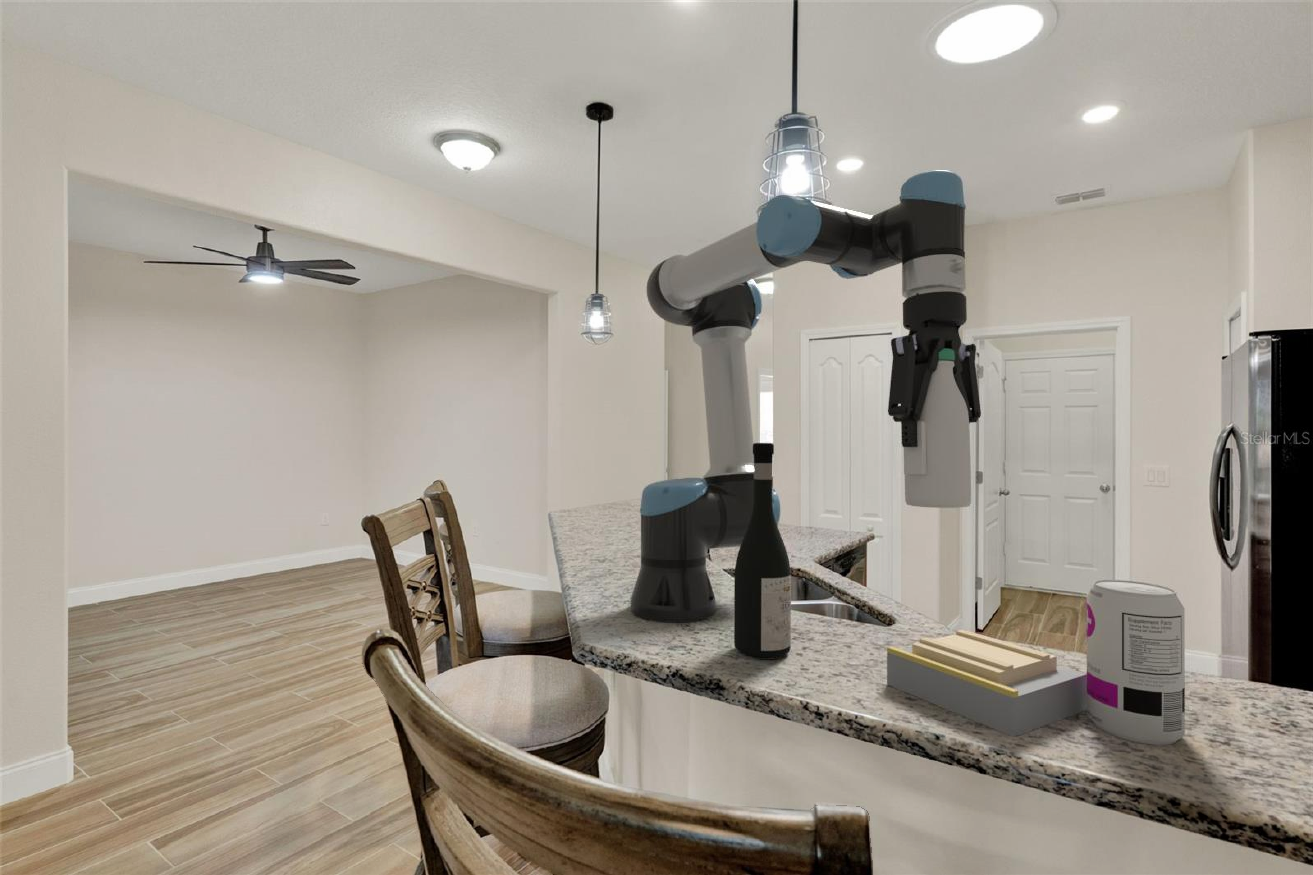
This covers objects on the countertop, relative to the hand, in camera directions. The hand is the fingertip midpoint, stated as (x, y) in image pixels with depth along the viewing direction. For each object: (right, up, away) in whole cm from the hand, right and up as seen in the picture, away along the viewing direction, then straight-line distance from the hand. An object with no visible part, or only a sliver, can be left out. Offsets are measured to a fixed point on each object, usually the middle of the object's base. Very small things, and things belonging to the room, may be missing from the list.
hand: (937, 473), depth 80 cm
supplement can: (+14, -26, -14) cm, 33 cm away
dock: (+3, -26, -6) cm, 27 cm away
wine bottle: (-21, -26, +10) cm, 35 cm away
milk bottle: (0, -4, 0) cm, 4 cm away
